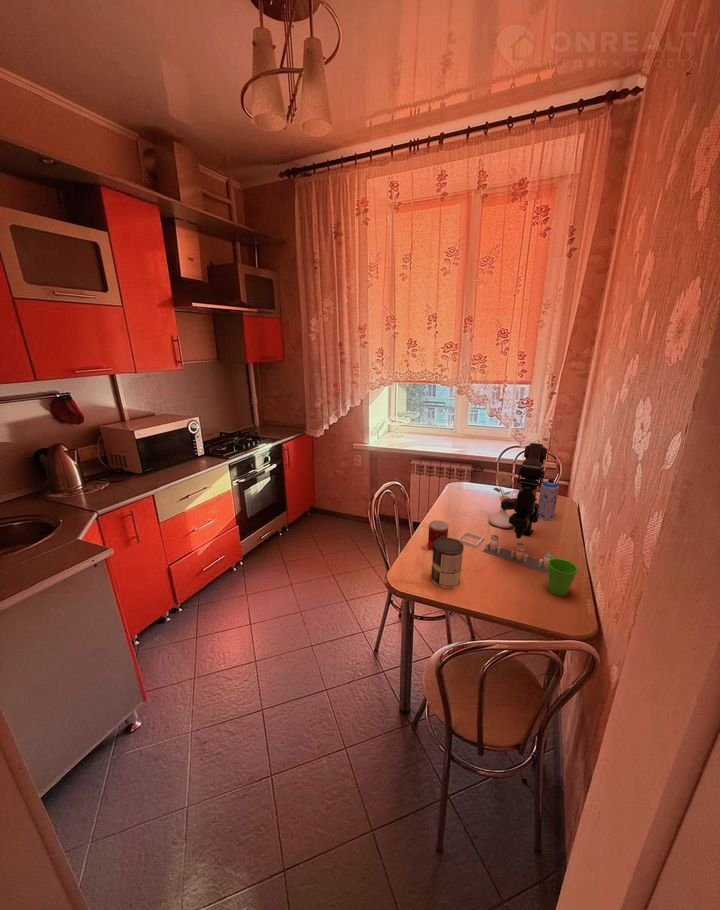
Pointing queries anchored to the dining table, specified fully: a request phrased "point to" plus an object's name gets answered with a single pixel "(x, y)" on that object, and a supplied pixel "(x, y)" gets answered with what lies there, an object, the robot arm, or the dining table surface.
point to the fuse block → (510, 556)
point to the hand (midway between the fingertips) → (521, 533)
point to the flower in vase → (501, 517)
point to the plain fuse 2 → (546, 557)
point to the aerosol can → (548, 500)
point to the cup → (561, 575)
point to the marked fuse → (519, 551)
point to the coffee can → (447, 562)
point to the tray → (470, 542)
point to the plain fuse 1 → (494, 543)
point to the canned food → (436, 532)
